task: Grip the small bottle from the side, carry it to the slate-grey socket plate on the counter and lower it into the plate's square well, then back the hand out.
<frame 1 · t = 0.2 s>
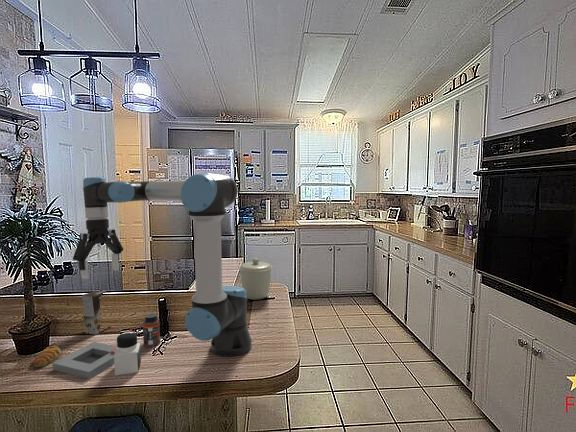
hand: (101, 274, 133), 27 cm above the worktop, tool pointing down, fingers open, 13 cm apart
pastry: (47, 361, 122), on the worktop
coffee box: (98, 330, 147), on the worktop
medicine bottle: (128, 369, 116), on the worktop
canister: (256, 297, 188), on the worktop
supplement bottle: (152, 344, 134), on the worktop
socket plate: (92, 362, 120), on the worktop
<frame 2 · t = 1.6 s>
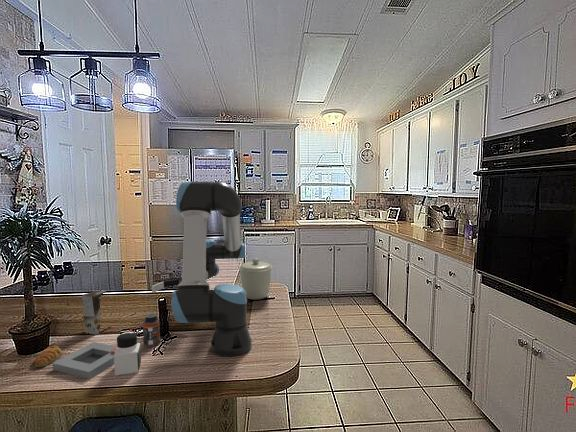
hand: (166, 291, 141), 18 cm above the worktop, tool horizontal, fingers open, 13 cm apart
nothing on the worktop moved.
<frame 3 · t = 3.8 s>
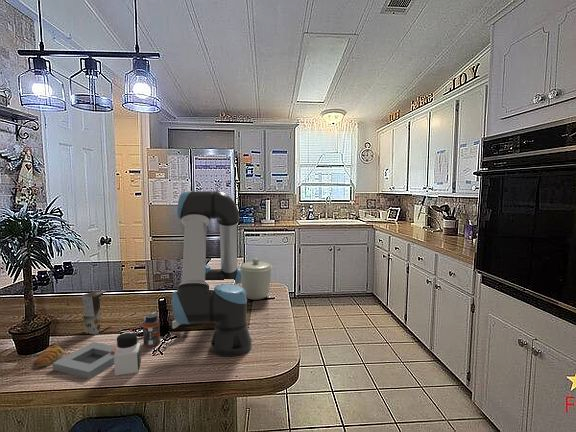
hand: (158, 322, 138), 6 cm above the worktop, tool horizontal, fingers open, 13 cm apart
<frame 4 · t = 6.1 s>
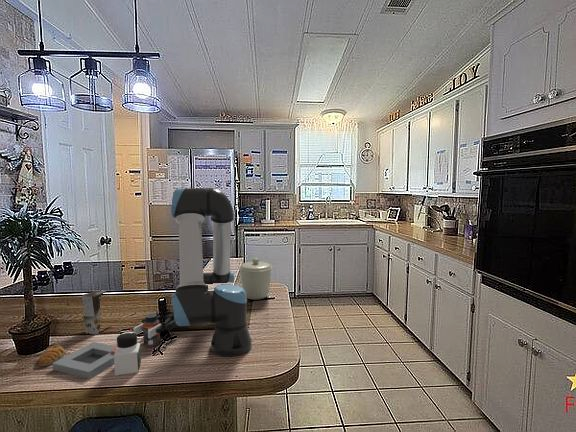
hand: (141, 333, 128), 7 cm above the worktop, tool horizontal, fingers closed on supplement bottle, 6 cm apart
supplement bottle: (152, 344, 134), on the worktop, touching gripper
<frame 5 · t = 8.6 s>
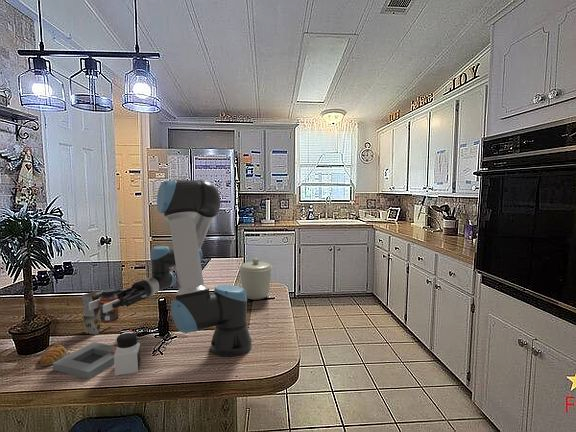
hand: (96, 307, 123), 18 cm above the worktop, tool horizontal, fingers closed on supplement bottle, 6 cm apart
supplement bottle: (109, 320, 128), point 11 cm above the worktop, touching gripper
when the fingers open (8 cm above the worktop, at t = 11.5 s): supplement bottle stays where it is, resting on socket plate.
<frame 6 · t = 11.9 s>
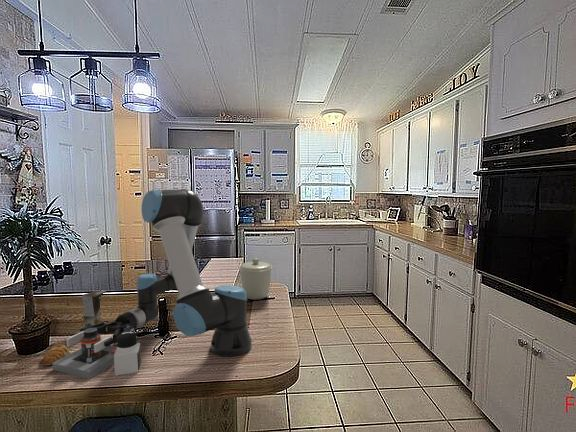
hand: (80, 345, 116), 8 cm above the worktop, tool horizontal, fingers open, 11 cm apart
supplement bottle: (92, 361, 120), resting on socket plate
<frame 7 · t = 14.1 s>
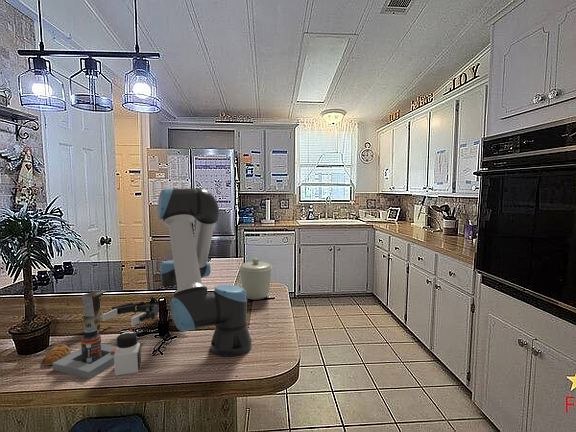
hand: (117, 320, 130), 11 cm above the worktop, tool horizontal, fingers open, 13 cm apart
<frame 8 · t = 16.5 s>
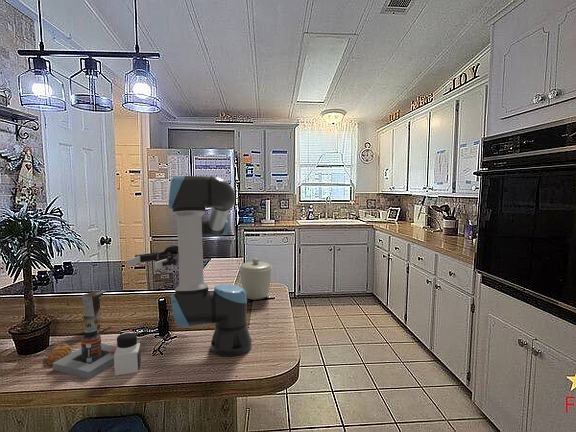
hand: (141, 264, 135), 30 cm above the worktop, tool horizontal, fingers open, 13 cm apart
at the end: supplement bottle 0.1 cm off-centre on the socket plate, point 0.1 cm above the socket plate's base; supplement bottle tilted 0°; the gripper is holding nothing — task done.
